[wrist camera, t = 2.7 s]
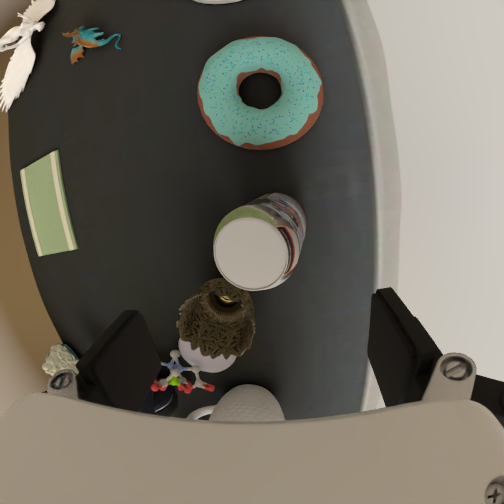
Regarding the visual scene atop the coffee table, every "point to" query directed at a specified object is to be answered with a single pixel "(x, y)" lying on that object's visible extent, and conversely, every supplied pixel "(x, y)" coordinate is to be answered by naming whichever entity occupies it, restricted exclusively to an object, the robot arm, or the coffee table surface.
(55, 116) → the coffee table surface
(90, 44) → the dragon figurine
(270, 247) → the beverage can
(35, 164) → the towel mat
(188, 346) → the white pebble
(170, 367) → the molecular model
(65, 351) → the ballet flat
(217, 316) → the cup
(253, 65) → the donut
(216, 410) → the mug
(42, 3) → the figurine
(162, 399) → the earphone
